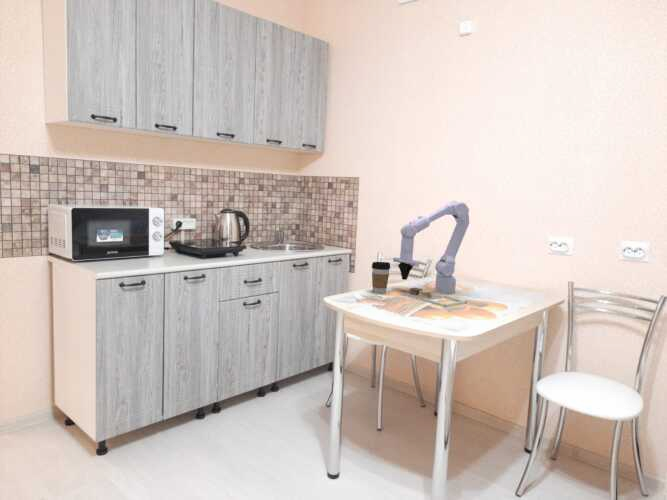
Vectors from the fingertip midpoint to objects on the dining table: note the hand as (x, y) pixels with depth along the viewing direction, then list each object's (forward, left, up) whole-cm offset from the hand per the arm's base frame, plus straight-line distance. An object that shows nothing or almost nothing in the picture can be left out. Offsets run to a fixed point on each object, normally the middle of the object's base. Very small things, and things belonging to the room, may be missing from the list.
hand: (404, 279), depth 235 cm
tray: (0, +24, -7) cm, 25 cm away
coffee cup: (+13, -3, -7) cm, 15 cm away
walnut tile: (0, +8, -5) cm, 9 cm away
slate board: (0, +11, -7) cm, 12 cm away
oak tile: (0, +13, -5) cm, 14 cm away
